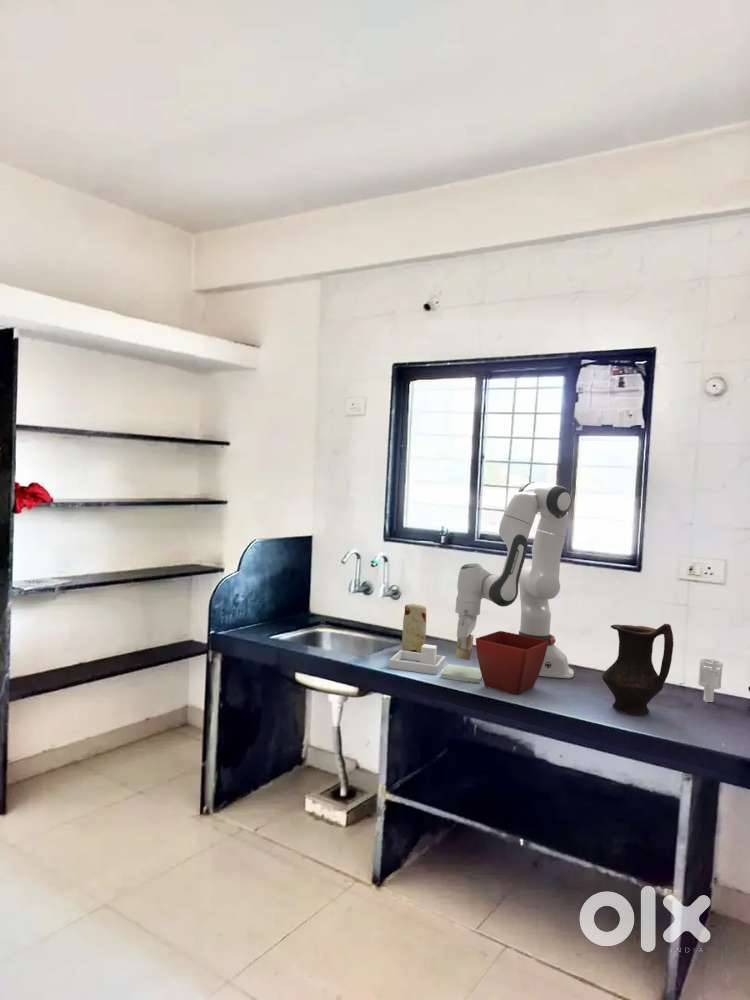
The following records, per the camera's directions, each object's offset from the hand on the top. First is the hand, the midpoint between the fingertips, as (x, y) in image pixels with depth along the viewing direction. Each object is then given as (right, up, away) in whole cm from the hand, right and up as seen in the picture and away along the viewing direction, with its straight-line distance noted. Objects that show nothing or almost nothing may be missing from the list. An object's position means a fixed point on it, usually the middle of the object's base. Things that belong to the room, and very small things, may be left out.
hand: (464, 646), depth 249 cm
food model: (-17, -9, +28) cm, 34 cm away
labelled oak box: (0, -4, 0) cm, 4 cm away
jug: (+50, -15, -29) cm, 60 cm away
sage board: (0, -11, 0) cm, 11 cm away
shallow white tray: (-17, -9, +9) cm, 21 cm away
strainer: (+82, -17, -12) cm, 85 cm away
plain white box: (-13, -10, +8) cm, 18 cm away
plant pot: (+14, -12, -11) cm, 21 cm away
